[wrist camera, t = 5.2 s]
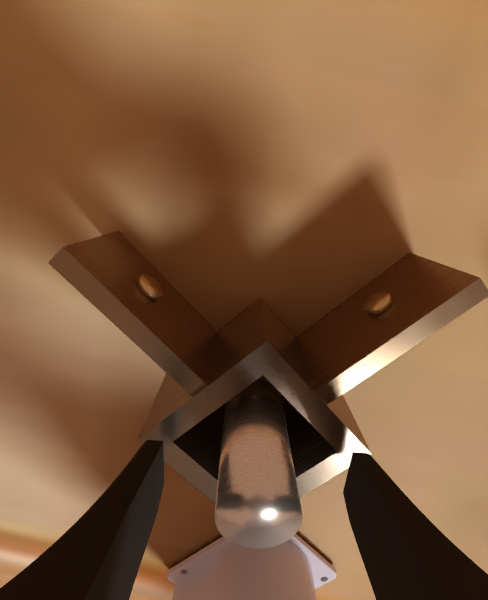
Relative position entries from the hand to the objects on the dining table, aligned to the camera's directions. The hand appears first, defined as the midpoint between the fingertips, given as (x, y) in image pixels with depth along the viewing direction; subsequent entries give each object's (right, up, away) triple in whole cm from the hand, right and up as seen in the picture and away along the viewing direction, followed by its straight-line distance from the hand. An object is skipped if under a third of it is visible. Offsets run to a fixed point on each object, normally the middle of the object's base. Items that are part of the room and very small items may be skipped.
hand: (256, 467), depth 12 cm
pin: (0, +2, +6) cm, 6 cm away
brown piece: (0, +7, +4) cm, 8 cm away
